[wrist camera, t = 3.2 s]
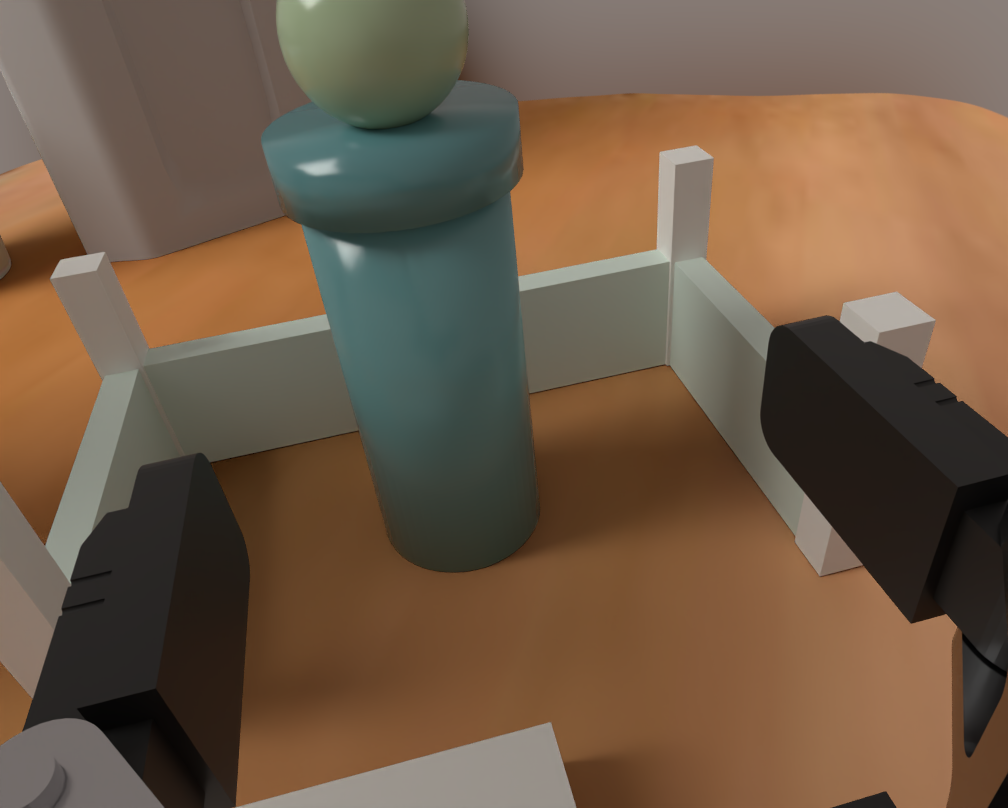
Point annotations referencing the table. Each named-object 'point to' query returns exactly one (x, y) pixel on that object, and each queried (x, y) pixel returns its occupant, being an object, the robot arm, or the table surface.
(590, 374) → the rectangular frame with posts
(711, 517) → the table surface
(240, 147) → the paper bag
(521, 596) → the table surface
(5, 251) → the coffee cup
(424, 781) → the stone tile
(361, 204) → the teal peg with ball
